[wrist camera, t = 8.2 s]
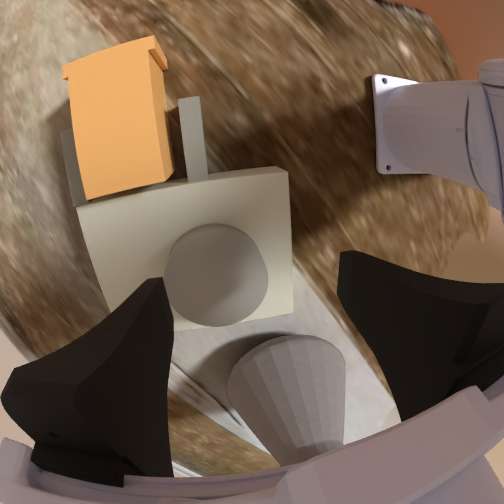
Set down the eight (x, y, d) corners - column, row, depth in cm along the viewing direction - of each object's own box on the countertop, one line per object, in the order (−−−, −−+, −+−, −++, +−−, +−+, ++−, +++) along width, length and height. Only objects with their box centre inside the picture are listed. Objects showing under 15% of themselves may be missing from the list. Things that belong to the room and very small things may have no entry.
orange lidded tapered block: (166, 59, 14) (153, 35, 10) (181, 168, 17) (172, 179, 13) (94, 79, 14) (62, 66, 9) (109, 184, 17) (81, 201, 12)
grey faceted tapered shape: (198, 362, 24) (209, 514, 11) (302, 296, 23) (386, 451, 10) (302, 429, 33) (331, 516, 20) (372, 389, 32) (419, 473, 18)
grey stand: (269, 94, 16) (291, 82, 12) (283, 291, 22) (301, 329, 18) (76, 130, 15) (39, 132, 10) (124, 314, 21) (110, 355, 17)
